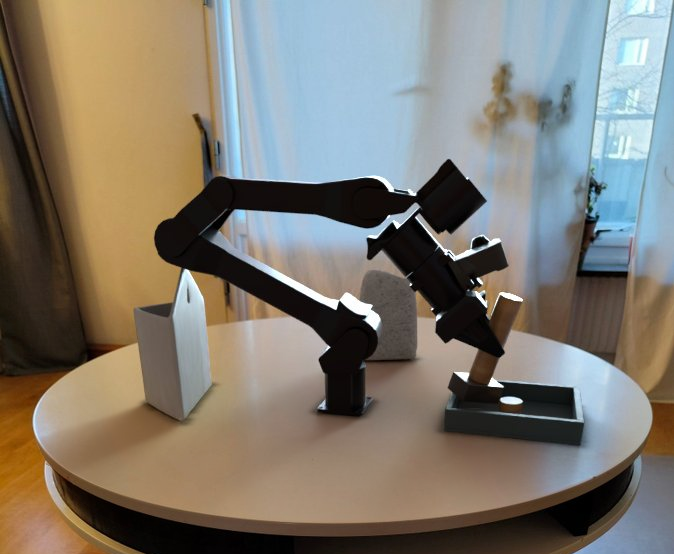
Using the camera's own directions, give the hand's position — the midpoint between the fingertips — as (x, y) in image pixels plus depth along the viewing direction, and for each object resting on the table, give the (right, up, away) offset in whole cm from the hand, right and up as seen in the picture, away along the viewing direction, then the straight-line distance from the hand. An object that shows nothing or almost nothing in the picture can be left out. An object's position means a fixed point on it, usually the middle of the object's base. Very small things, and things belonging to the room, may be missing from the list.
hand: (501, 351), depth 80 cm
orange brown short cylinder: (+2, -8, +2) cm, 9 cm away
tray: (+2, -9, +3) cm, 9 cm away
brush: (-3, -6, +3) cm, 7 cm away
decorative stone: (-13, +3, +29) cm, 32 cm away
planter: (-46, -6, +10) cm, 47 cm away
